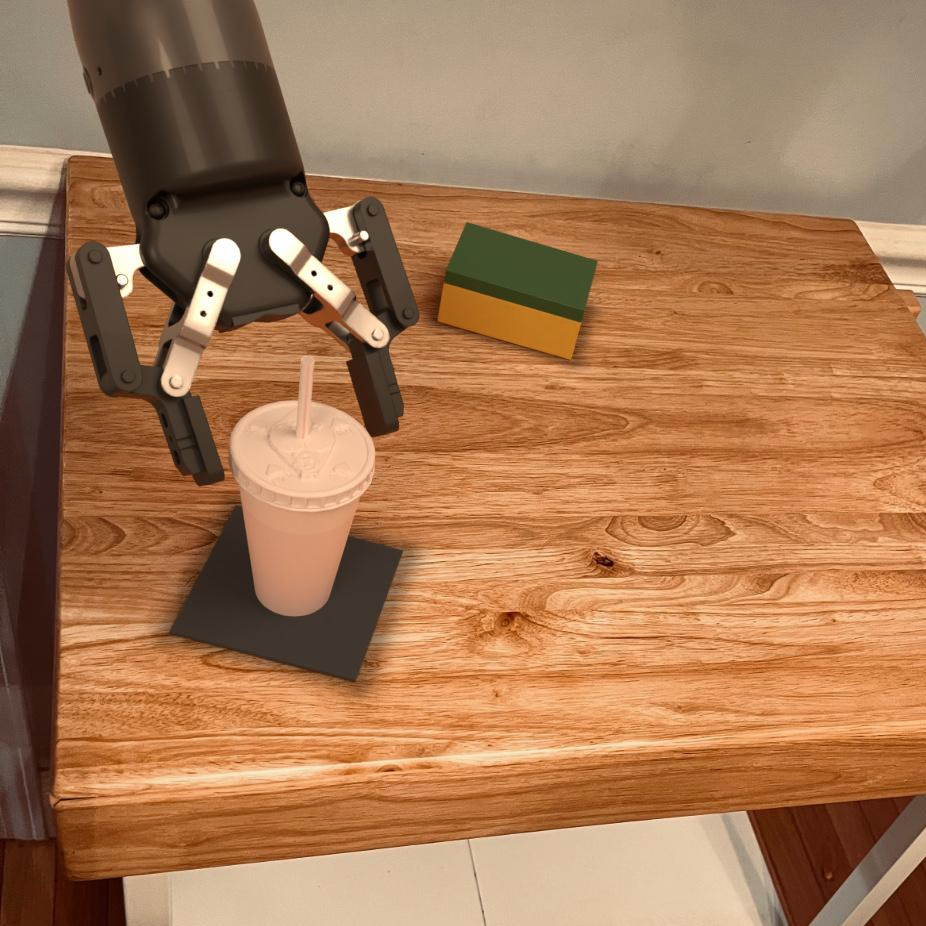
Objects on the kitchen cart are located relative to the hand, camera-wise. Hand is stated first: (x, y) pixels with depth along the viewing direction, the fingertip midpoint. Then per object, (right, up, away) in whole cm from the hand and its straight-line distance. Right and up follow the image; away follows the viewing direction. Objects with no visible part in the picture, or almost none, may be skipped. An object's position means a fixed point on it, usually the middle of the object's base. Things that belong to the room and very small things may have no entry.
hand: (302, 457), depth 53 cm
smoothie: (-2, -6, +6) cm, 9 cm away
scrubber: (+8, +13, +26) cm, 30 cm away
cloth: (-2, -6, +6) cm, 9 cm away
